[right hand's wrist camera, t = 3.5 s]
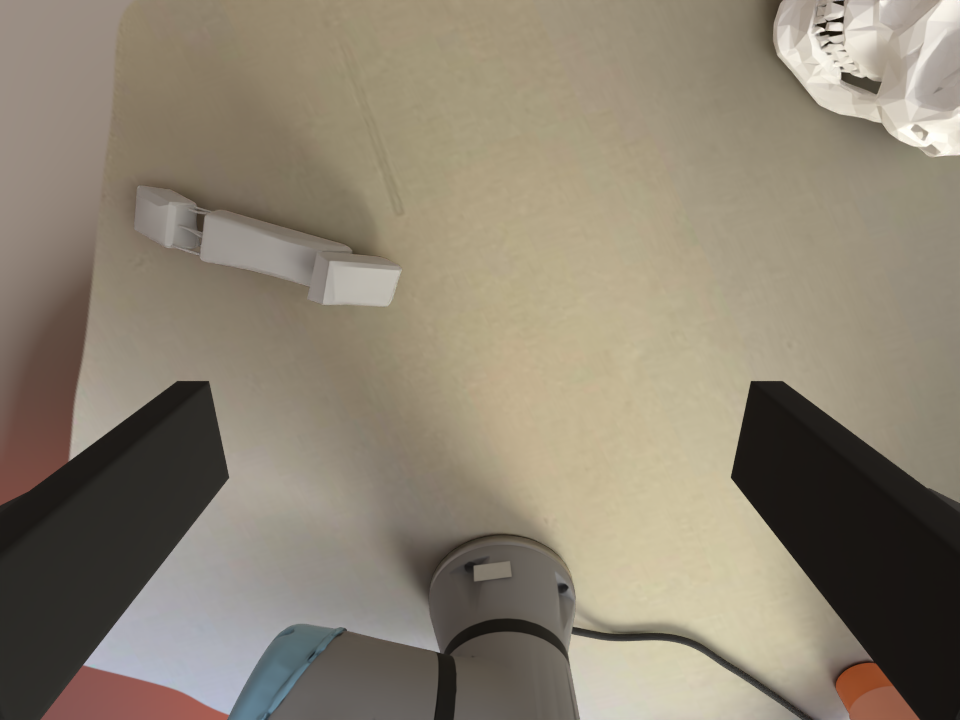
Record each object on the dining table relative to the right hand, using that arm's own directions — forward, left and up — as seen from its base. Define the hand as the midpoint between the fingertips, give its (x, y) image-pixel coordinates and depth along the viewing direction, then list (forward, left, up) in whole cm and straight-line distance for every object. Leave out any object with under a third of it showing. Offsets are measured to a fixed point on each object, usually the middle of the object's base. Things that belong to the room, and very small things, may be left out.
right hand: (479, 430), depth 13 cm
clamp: (+15, +5, -31) cm, 35 cm away
